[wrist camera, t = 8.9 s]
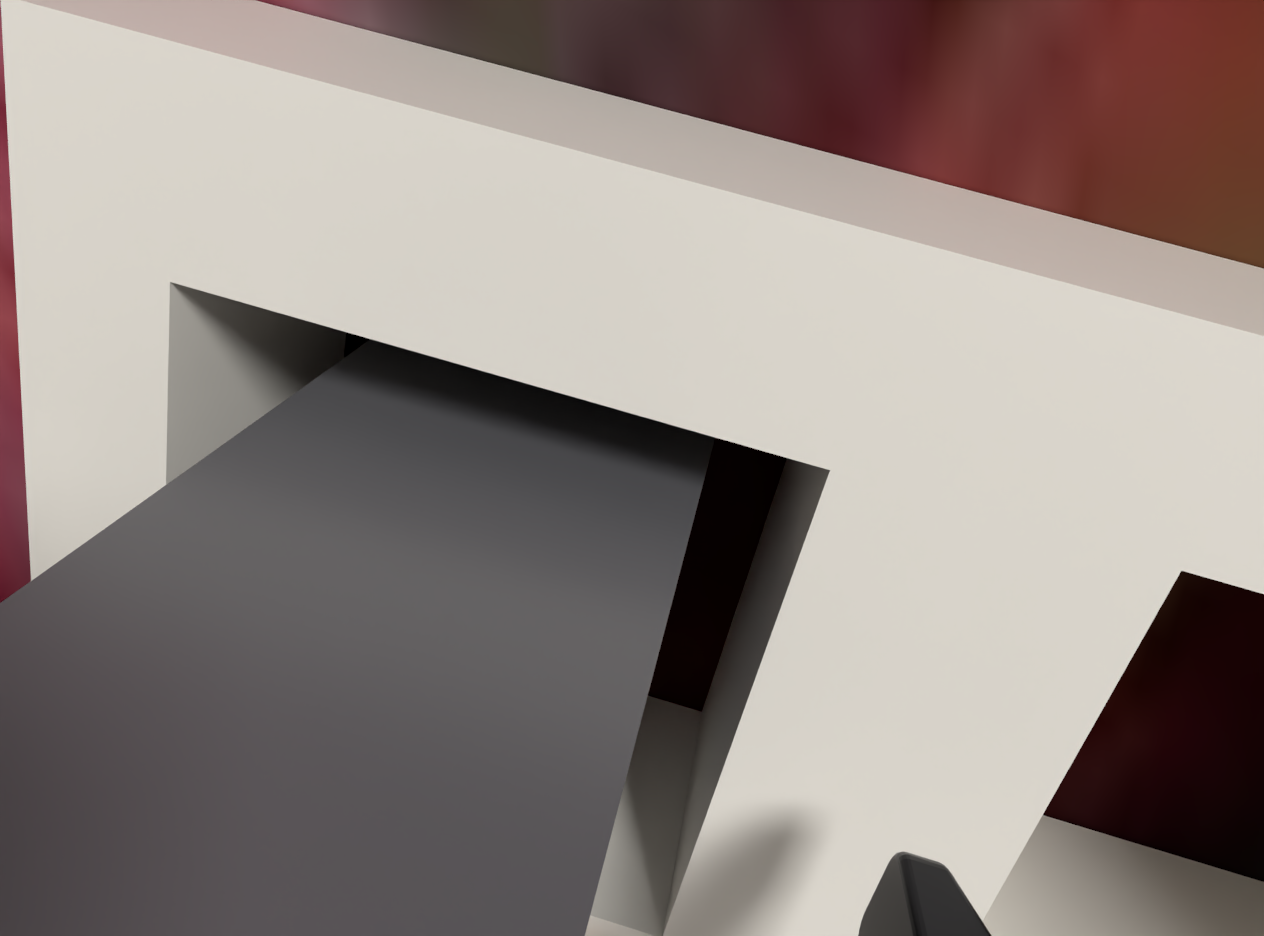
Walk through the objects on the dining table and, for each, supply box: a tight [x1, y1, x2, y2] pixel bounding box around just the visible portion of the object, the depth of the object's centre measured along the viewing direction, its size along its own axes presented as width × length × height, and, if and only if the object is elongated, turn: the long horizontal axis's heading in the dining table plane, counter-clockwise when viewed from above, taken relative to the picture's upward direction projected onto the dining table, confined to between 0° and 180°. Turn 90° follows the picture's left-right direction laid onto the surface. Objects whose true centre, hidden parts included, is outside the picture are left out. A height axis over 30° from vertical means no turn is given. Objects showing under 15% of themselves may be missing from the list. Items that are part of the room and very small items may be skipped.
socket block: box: [1, 0, 1264, 936], centre depth 12 cm, size 18×12×4 cm, turn 77°
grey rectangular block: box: [0, 339, 715, 936], centre depth 9 cm, size 4×4×11 cm
